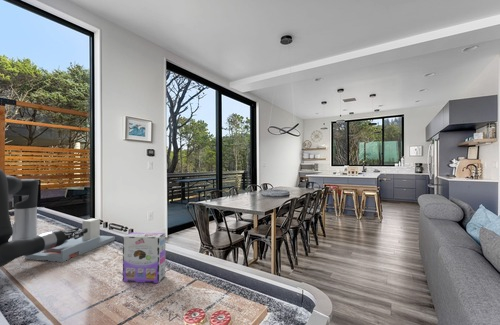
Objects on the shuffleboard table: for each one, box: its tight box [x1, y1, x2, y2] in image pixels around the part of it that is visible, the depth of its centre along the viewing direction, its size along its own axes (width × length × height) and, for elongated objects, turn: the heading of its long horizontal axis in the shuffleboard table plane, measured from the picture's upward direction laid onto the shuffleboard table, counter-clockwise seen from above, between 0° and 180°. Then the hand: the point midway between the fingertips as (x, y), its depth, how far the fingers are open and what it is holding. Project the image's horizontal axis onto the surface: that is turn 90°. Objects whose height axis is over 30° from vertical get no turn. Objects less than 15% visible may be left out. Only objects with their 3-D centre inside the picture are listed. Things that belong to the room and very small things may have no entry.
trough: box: [24, 235, 116, 263], centre depth 117 cm, size 30×20×5 cm, turn 170°
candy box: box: [122, 231, 166, 284], centre depth 87 cm, size 14×6×16 cm, turn 84°
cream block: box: [81, 218, 101, 240], centre depth 126 cm, size 6×5×10 cm
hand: (82, 229), depth 121 cm, fingers open, 4 cm apart
